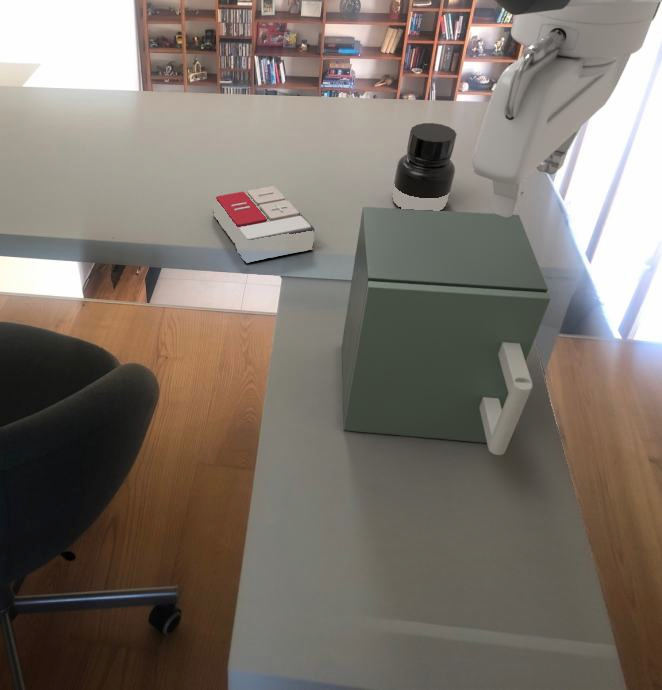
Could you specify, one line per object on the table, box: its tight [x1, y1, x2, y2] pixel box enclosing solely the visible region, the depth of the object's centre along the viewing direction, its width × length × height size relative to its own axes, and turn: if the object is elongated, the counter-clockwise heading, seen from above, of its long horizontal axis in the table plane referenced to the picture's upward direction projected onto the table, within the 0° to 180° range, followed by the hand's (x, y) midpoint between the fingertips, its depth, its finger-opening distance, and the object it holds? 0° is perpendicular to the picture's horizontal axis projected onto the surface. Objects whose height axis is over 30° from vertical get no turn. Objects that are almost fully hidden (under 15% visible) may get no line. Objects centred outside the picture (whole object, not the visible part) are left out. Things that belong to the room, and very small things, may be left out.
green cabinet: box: [341, 206, 549, 423], centre depth 75 cm, size 13×16×20 cm
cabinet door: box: [342, 281, 551, 456], centre depth 67 cm, size 7×16×20 cm, turn 82°
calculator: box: [215, 185, 315, 240], centre depth 106 cm, size 11×4×15 cm
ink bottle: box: [393, 122, 457, 198], centre depth 109 cm, size 10×9×12 cm
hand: (526, 190), depth 58 cm, fingers open, 8 cm apart
